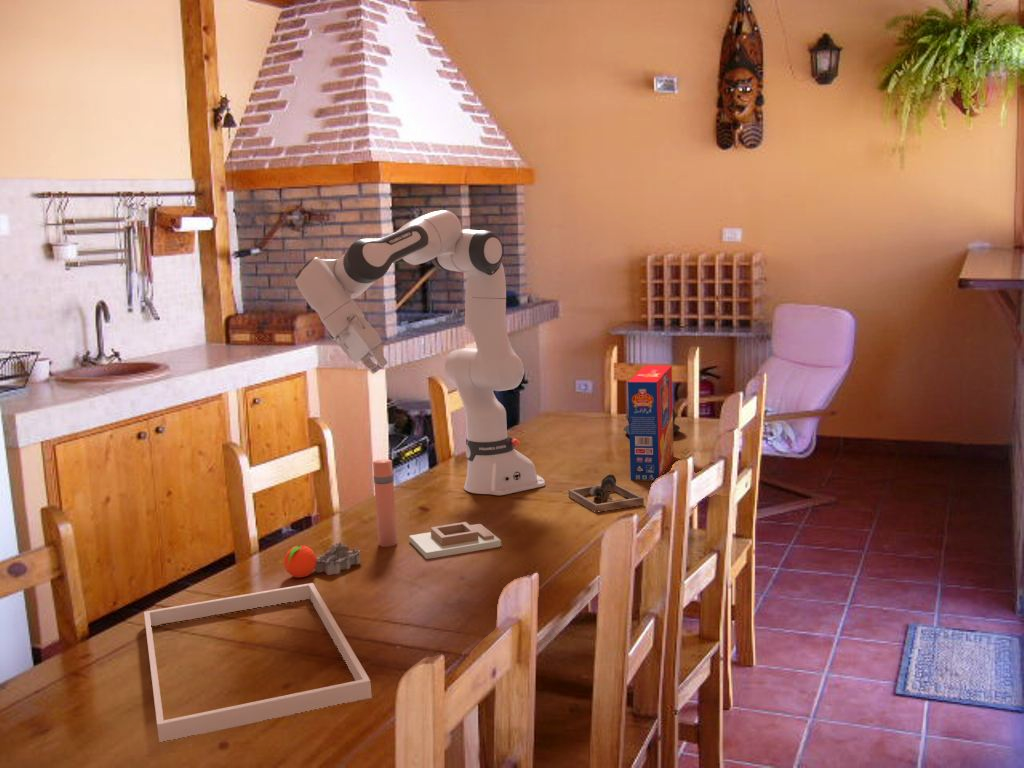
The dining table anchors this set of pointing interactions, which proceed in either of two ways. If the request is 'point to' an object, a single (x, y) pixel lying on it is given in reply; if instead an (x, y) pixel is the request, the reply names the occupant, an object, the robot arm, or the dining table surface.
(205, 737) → the dining table surface
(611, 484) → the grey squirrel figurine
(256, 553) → the dining table surface
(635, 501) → the figurine display rim
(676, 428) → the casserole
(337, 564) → the grey castle model
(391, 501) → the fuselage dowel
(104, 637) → the dining table surface
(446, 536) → the cradle jig
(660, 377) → the blue cardboard box
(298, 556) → the clementine
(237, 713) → the frame
